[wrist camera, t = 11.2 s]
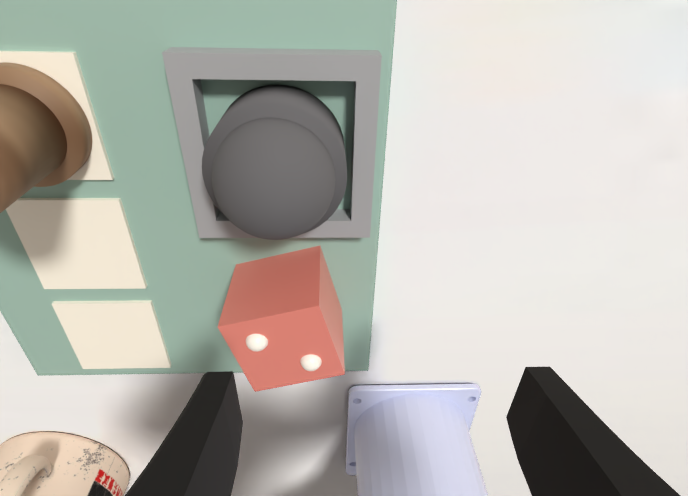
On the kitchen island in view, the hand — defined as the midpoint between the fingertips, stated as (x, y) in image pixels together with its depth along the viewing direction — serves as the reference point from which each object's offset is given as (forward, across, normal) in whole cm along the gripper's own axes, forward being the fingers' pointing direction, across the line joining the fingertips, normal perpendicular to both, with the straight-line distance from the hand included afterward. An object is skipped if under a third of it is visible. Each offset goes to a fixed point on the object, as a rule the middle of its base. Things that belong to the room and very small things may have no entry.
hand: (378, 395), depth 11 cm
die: (+9, +3, +4) cm, 10 cm away
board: (+10, +8, +1) cm, 13 cm away
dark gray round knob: (+9, +3, -3) cm, 10 cm away
